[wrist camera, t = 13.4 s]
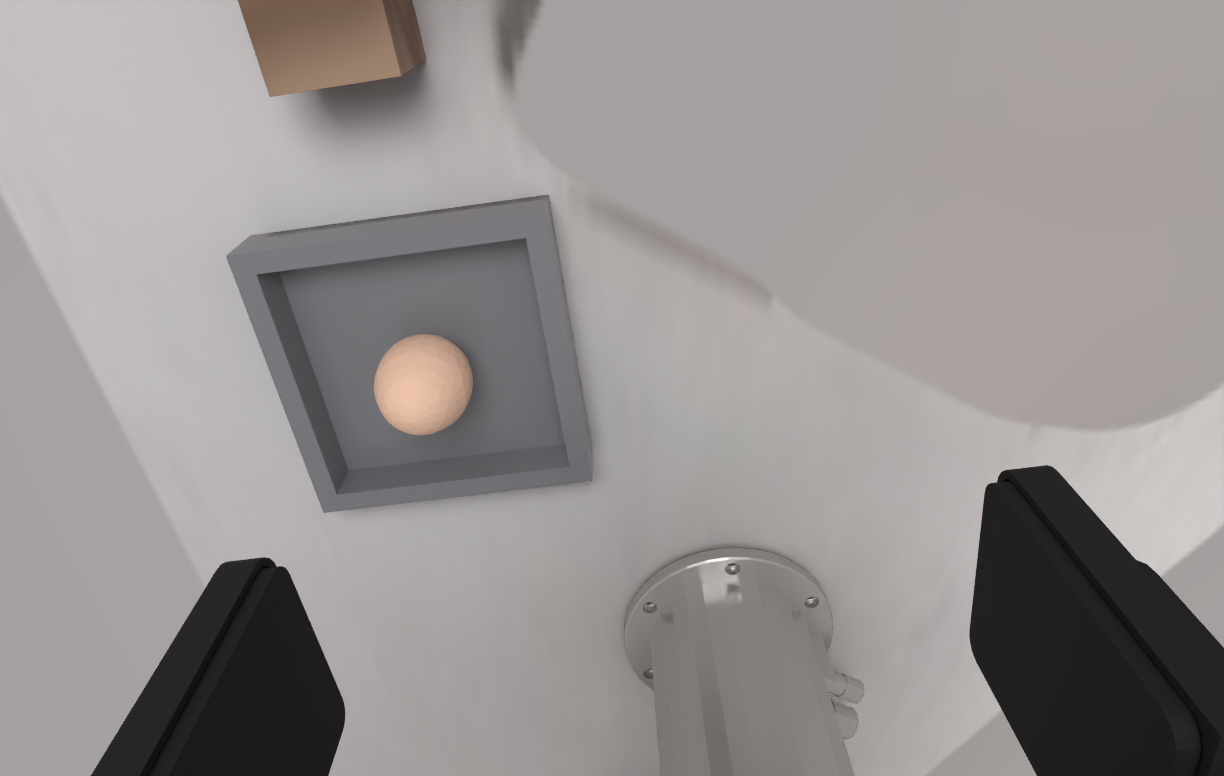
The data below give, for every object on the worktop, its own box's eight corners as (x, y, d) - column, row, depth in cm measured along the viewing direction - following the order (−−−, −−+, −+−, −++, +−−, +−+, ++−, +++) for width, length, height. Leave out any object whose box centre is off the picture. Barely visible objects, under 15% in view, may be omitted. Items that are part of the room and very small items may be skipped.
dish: (592, 450, 43) (592, 480, 41) (338, 481, 44) (323, 512, 42) (548, 194, 37) (544, 212, 34) (250, 235, 37) (225, 255, 35)
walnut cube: (426, 59, 34) (401, 76, 30) (311, 78, 34) (269, 96, 30) (394, -76, 32) (361, -80, 27) (271, -55, 32) (219, -56, 28)
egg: (429, 412, 41) (406, 475, 36) (369, 347, 40) (337, 405, 35) (497, 368, 40) (483, 427, 35) (440, 299, 38) (416, 352, 33)
